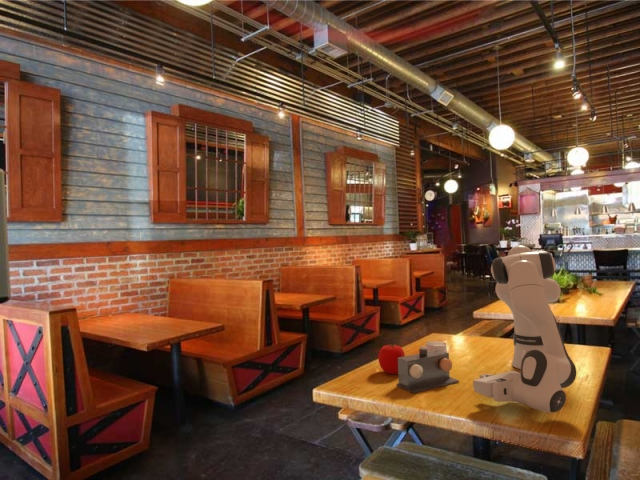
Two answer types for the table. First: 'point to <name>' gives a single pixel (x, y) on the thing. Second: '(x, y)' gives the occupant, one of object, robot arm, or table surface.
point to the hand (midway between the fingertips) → (482, 376)
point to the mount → (424, 372)
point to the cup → (436, 346)
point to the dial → (423, 351)
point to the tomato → (390, 358)
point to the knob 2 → (445, 364)
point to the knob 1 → (416, 371)
